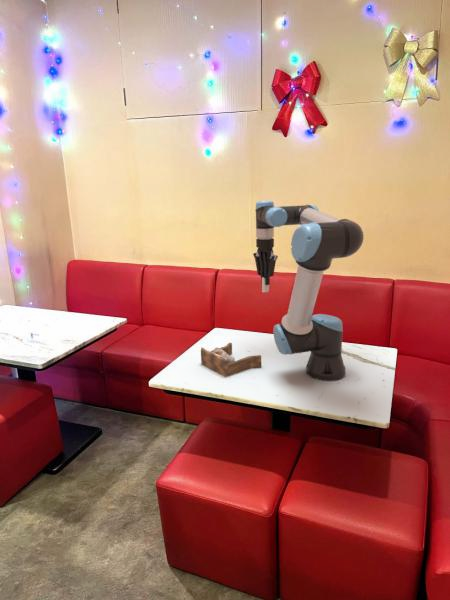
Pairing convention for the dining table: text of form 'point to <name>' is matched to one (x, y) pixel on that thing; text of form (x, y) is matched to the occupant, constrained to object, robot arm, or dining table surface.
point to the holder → (221, 363)
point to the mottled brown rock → (224, 354)
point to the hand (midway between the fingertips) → (265, 291)
